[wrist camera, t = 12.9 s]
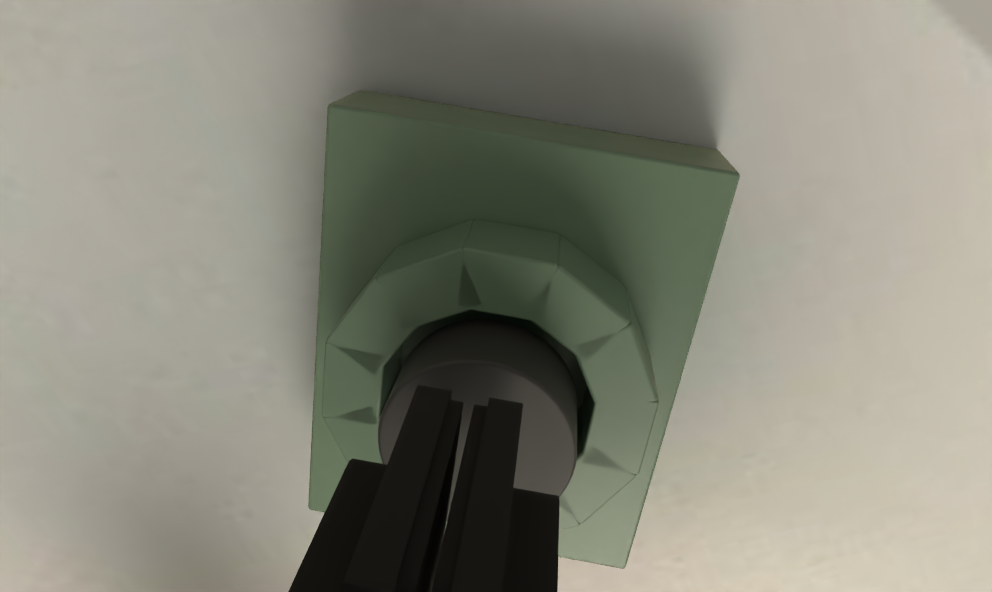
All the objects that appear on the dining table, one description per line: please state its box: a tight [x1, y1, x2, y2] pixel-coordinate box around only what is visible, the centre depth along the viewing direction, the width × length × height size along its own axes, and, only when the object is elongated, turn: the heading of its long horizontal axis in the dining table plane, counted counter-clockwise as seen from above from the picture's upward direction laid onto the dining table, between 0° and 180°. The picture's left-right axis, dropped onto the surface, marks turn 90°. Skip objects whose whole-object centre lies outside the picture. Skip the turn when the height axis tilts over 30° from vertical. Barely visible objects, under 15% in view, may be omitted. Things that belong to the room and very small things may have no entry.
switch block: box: [308, 90, 740, 569], centre depth 16 cm, size 10×8×4 cm
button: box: [378, 319, 577, 522], centre depth 13 cm, size 4×4×2 cm
